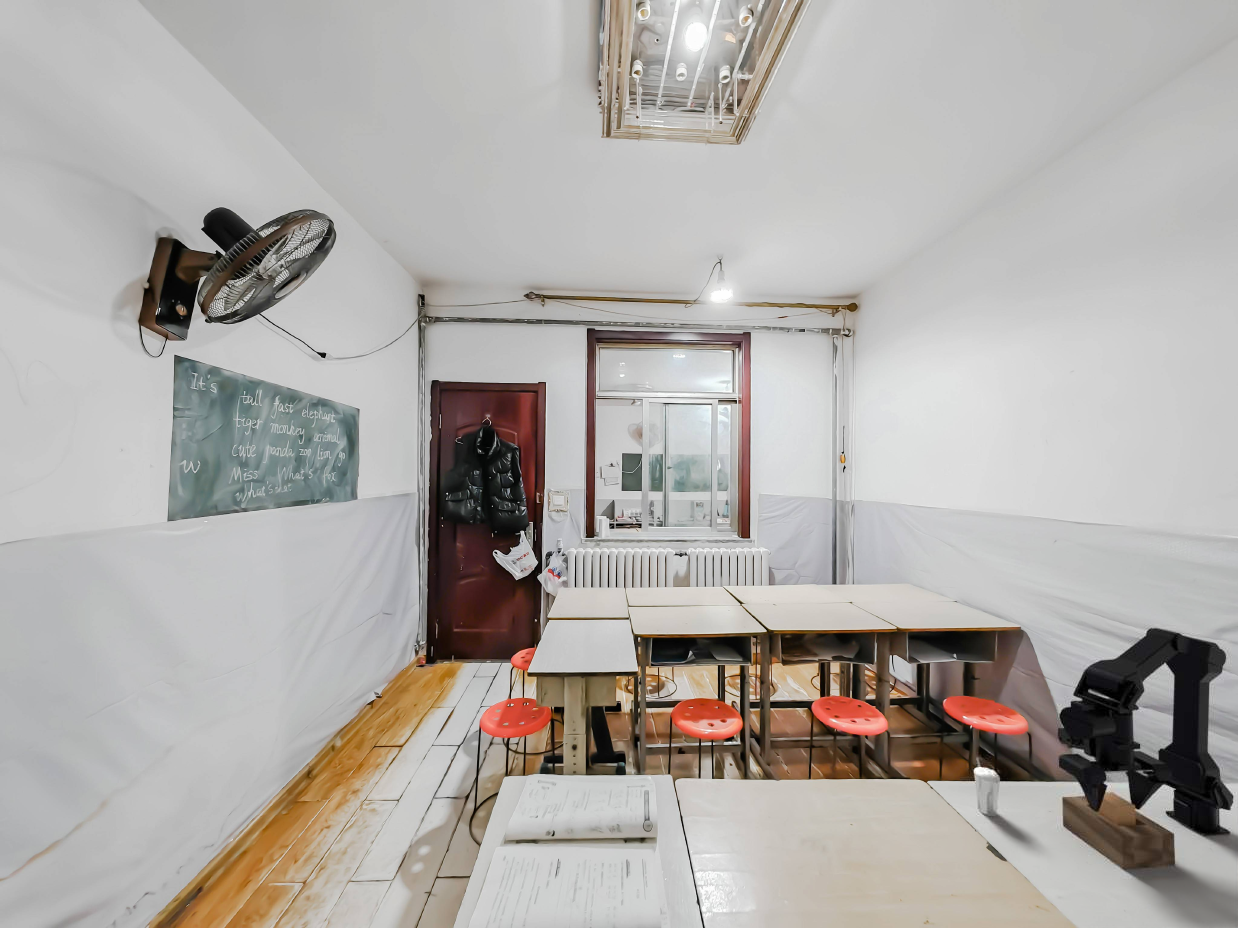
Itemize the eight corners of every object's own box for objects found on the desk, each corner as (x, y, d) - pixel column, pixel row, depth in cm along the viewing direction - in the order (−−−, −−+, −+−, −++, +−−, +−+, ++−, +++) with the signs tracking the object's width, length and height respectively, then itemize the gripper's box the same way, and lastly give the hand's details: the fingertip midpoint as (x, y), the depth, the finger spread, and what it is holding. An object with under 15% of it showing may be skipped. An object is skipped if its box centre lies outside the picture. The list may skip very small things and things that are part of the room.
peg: (1113, 831, 96) (1112, 791, 96) (1136, 846, 92) (1135, 805, 92) (1095, 832, 96) (1094, 792, 96) (1117, 847, 92) (1116, 806, 92)
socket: (1110, 822, 100) (1109, 794, 100) (1175, 865, 89) (1174, 833, 89) (1063, 825, 99) (1062, 796, 99) (1122, 868, 88) (1121, 836, 88)
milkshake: (988, 802, 106) (987, 758, 106) (1005, 819, 101) (1004, 772, 101) (967, 801, 106) (966, 756, 107) (983, 817, 101) (982, 771, 101)
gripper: (1109, 710, 103) (1112, 781, 103) (1032, 712, 102) (1034, 785, 101) (1173, 737, 92) (1175, 817, 92) (1087, 741, 91) (1089, 822, 90)
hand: (1115, 809), depth 94 cm, fingers open, 9 cm apart
